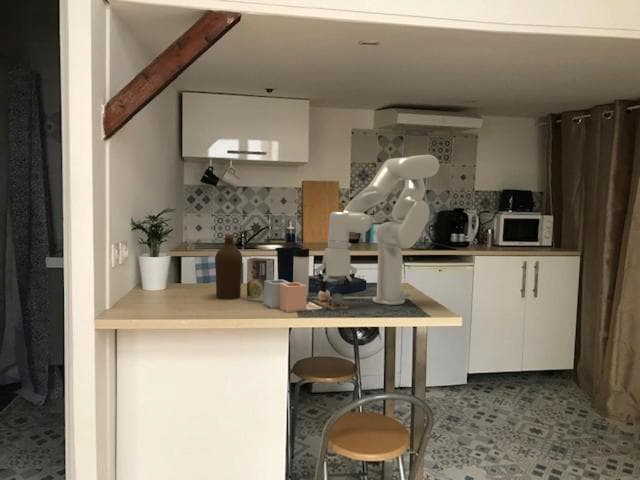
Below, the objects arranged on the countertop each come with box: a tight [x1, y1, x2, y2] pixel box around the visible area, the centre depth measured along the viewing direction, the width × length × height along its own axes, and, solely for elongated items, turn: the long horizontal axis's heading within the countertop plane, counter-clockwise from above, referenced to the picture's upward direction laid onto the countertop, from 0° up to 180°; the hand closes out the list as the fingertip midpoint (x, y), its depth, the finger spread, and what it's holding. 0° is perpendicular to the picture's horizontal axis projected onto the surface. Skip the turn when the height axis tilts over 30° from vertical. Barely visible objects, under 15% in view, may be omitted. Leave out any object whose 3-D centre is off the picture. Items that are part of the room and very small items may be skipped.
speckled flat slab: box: [312, 297, 350, 311], centre depth 191 cm, size 7×16×1 cm, turn 27°
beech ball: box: [317, 289, 331, 301], centre depth 194 cm, size 5×5×5 cm
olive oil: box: [214, 233, 243, 300], centre depth 199 cm, size 11×11×25 cm
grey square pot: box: [263, 279, 291, 309], centre depth 187 cm, size 7×7×9 cm
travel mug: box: [292, 248, 310, 299], centre depth 203 cm, size 6×7×20 cm
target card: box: [306, 300, 323, 311], centre depth 187 cm, size 6×10×2 cm, turn 27°
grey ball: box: [330, 292, 344, 306], centre depth 187 cm, size 5×5×5 cm
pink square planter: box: [278, 282, 308, 313], centre depth 181 cm, size 7×7×9 cm
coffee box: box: [246, 257, 275, 303], centre depth 196 cm, size 9×6×16 cm
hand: (334, 291), depth 186 cm, fingers open, 9 cm apart
